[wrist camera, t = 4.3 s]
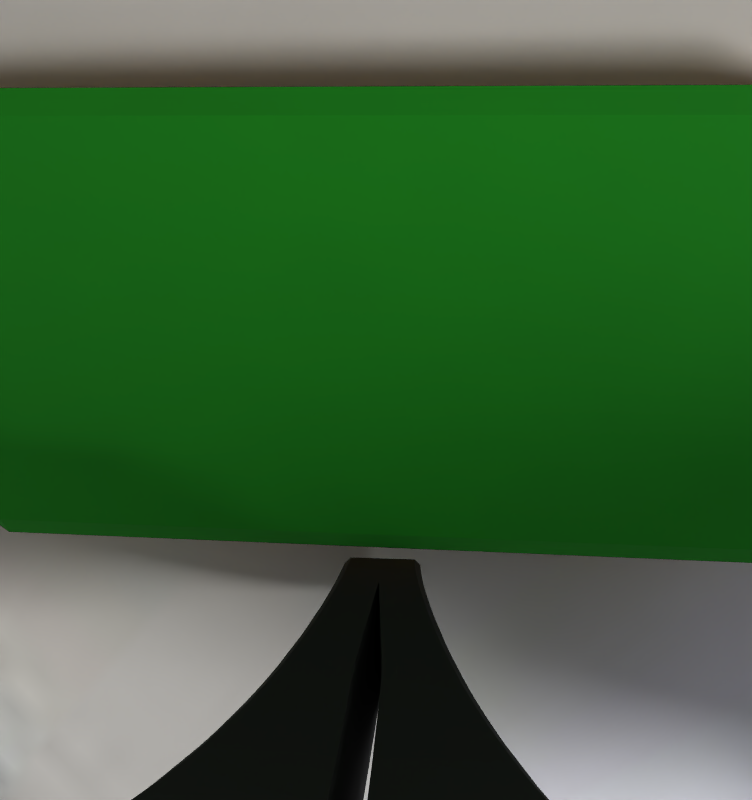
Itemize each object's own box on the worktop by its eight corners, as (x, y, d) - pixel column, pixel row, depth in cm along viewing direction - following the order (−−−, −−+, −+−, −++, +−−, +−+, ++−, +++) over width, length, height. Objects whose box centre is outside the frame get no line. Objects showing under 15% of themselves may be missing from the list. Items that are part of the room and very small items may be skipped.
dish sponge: (-24, 95, 11) (-139, 87, 9) (837, 92, 10) (954, 83, 8) (57, 468, 14) (-14, 535, 11) (736, 492, 13) (803, 570, 11)
